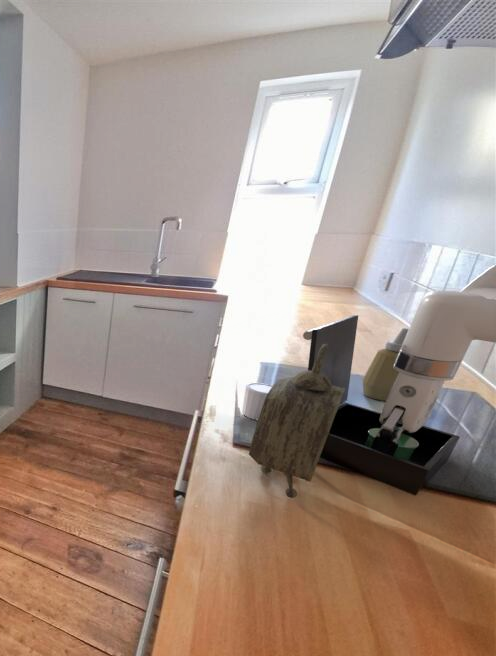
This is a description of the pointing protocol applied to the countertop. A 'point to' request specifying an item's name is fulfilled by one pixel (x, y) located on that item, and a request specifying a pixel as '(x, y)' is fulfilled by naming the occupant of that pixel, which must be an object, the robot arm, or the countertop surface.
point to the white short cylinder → (254, 399)
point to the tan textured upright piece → (296, 423)
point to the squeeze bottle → (383, 369)
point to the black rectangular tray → (405, 475)
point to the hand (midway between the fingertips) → (386, 452)
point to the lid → (334, 350)
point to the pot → (405, 443)
